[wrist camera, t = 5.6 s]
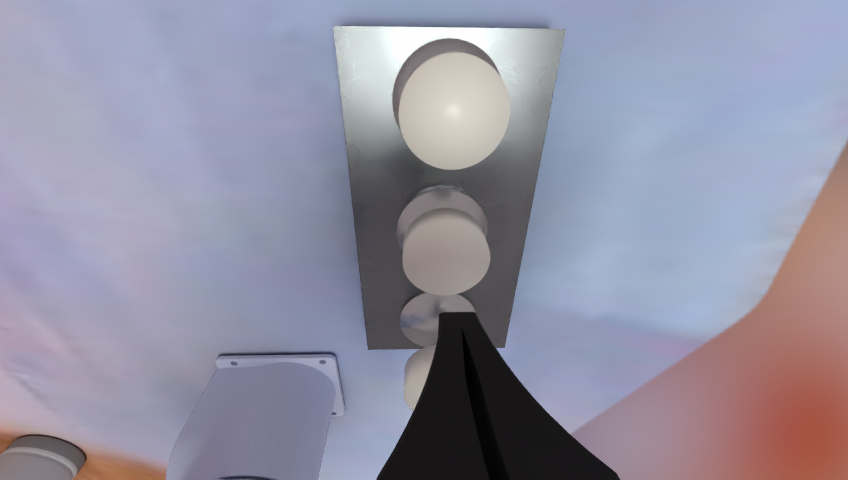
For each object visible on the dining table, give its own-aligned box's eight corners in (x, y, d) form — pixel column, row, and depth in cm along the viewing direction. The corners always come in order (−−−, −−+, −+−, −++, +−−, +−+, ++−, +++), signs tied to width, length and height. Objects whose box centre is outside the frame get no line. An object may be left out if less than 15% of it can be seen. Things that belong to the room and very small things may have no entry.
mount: (370, 329, 27) (367, 352, 25) (341, 26, 16) (331, 25, 14) (498, 327, 27) (505, 350, 25) (549, 28, 17) (568, 29, 15)
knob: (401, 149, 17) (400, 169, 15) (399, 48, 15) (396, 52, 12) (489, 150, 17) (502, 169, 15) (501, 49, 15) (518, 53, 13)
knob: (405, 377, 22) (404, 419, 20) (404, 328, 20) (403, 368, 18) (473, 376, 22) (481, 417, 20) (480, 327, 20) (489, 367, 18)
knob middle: (404, 265, 21) (403, 295, 18) (402, 198, 18) (401, 223, 16) (477, 264, 21) (485, 295, 19) (484, 197, 19) (495, 222, 16)
